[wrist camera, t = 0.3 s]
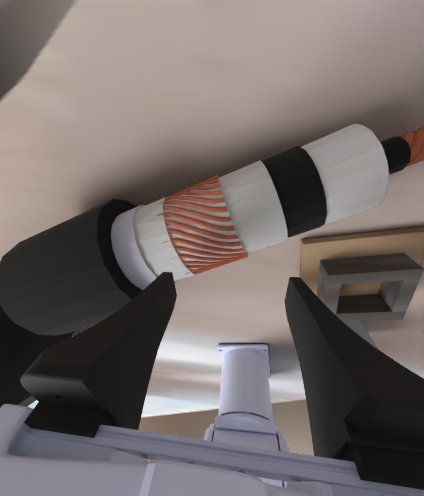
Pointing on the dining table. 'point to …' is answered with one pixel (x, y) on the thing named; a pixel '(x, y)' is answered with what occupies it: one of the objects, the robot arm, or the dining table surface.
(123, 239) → the cable
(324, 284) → the holder
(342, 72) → the dining table surface
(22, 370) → the bottle
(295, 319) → the robot arm
